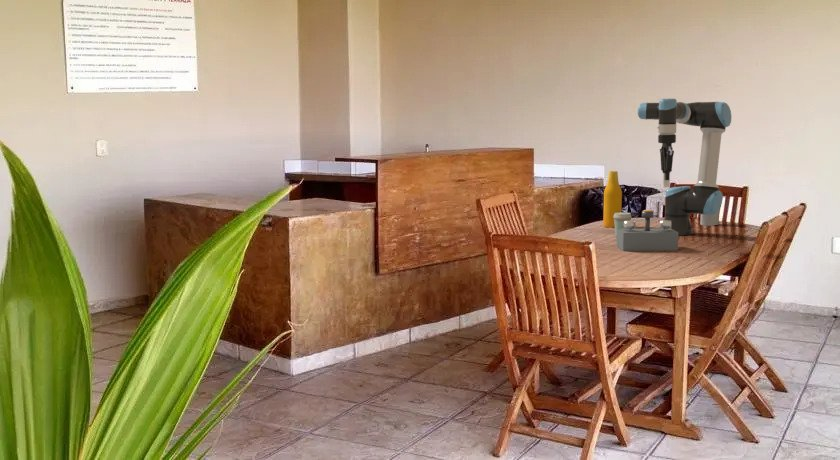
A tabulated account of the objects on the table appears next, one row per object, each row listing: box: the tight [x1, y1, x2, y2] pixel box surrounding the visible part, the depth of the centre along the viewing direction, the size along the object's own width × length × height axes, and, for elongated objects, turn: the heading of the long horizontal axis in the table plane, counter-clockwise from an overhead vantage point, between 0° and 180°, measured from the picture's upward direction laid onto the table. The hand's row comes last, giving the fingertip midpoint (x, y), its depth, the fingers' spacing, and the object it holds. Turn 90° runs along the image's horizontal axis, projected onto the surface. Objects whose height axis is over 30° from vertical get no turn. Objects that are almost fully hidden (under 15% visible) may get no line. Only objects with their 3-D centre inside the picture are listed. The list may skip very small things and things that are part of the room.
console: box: [616, 227, 679, 252], centre depth 387 cm, size 24×12×8 cm, turn 90°
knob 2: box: [659, 219, 672, 231], centre depth 387 cm, size 5×5×12 cm
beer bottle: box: [602, 170, 623, 229], centre depth 454 cm, size 9×9×29 cm
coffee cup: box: [614, 211, 632, 239], centre depth 416 cm, size 8×8×12 cm
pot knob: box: [641, 209, 655, 231], centre depth 386 cm, size 5×5×12 cm
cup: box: [699, 210, 720, 227], centre depth 458 cm, size 9×9×12 cm
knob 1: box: [624, 220, 636, 231], centre depth 386 cm, size 5×5×12 cm
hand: (666, 187), depth 387 cm, fingers closed
